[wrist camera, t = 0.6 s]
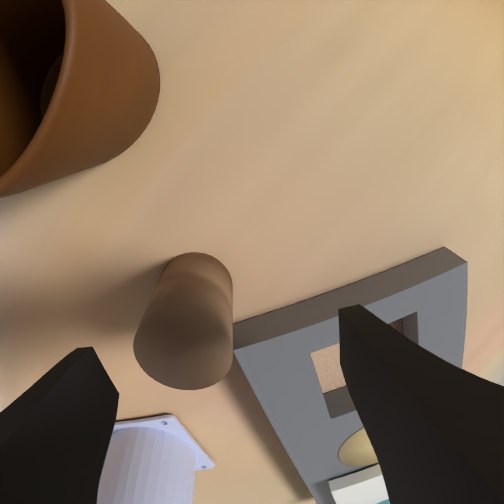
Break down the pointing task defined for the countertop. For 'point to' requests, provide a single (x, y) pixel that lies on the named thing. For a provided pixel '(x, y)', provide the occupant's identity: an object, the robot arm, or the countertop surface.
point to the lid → (360, 488)
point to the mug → (69, 89)
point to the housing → (327, 333)
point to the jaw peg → (188, 324)
